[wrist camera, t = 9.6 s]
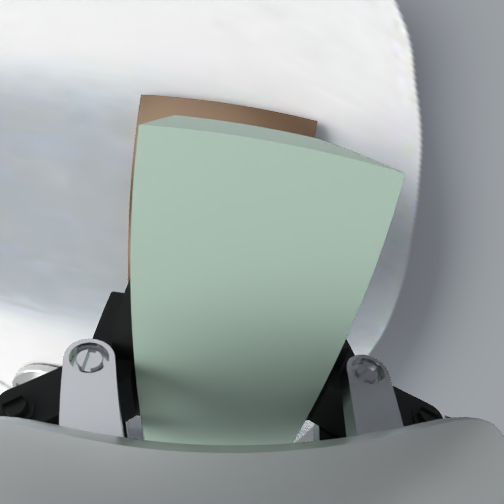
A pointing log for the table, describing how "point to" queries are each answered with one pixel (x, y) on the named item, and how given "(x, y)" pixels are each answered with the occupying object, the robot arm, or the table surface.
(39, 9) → the table surface
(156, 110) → the peg stand
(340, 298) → the mint green rectangular block
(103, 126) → the table surface
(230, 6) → the table surface
